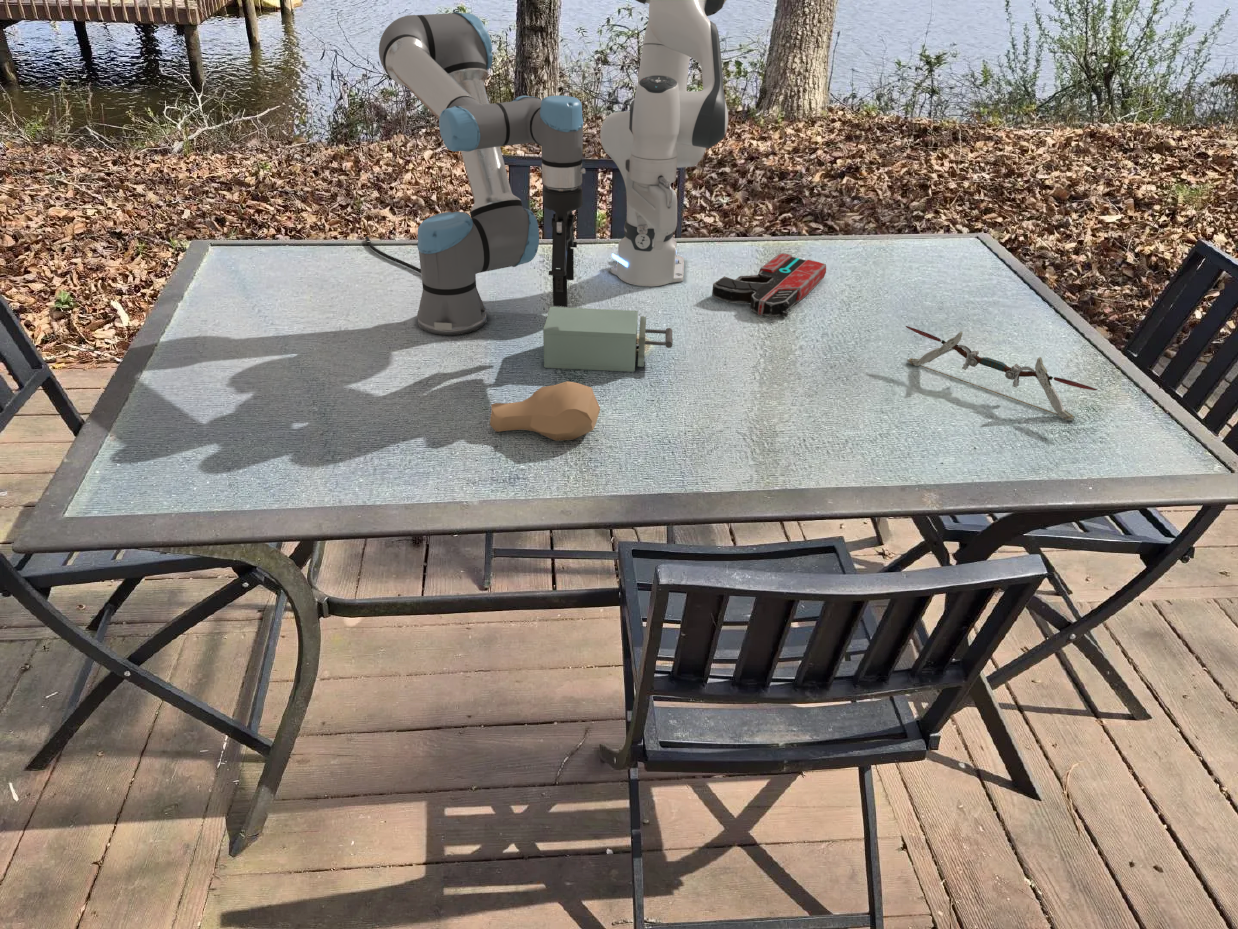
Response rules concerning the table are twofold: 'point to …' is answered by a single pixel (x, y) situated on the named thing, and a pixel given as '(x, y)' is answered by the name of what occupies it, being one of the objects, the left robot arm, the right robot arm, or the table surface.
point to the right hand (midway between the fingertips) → (649, 240)
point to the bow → (1010, 372)
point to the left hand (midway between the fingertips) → (563, 292)
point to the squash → (550, 412)
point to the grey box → (590, 339)
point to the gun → (772, 285)
